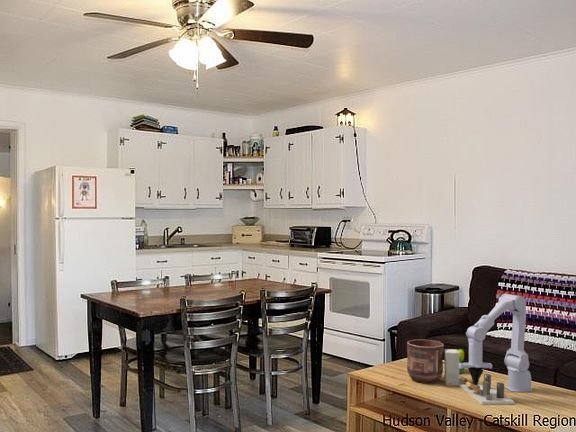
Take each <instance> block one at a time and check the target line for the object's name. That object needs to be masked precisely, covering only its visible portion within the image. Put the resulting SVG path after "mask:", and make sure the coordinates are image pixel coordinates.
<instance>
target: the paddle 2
mask: <svg viewBox="0 0 576 432" xmlns="http://www.w3.org/2000/svg"><path fill="white" fill-rule="evenodd" d="M482 384H483V396H485V397H486V395H490V383H489V382H487V381H484V380H482Z"/></svg>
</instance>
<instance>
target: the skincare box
mask: <svg viewBox="0 0 576 432" xmlns="http://www.w3.org/2000/svg"><path fill="white" fill-rule="evenodd" d="M458 350H459V349H453V348H451V349H449V348H444V351H443V362H444V363H443V365H444V366H443V367H444V383H445V385H446V386H451V385H453V387H454V386H455V387H460V385H461V384H460V383H461V381H460V380H461V379H460V378H461V377H460V374H461V373H459V352H458Z"/></svg>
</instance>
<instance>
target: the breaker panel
mask: <svg viewBox="0 0 576 432" xmlns="http://www.w3.org/2000/svg"><path fill="white" fill-rule="evenodd" d="M469 381H470V380H469ZM483 381H487V382H489V383H490V395H486V397H485V396H483V383H482V384H479V383H478V385H474V386H476V387H478V388H479V389H480V390H479V392H477V391H476V390H474V389H473V388H471V387H469V386H468V385H467V384H466V383H465V384H460V386H459V387H460V388H461V390H463V389H464V390H463V391H465V392H466V393H467V394H468V395H469V396H471V397H472V398H473V399H474V400H476V401H477V402H478V403H480V404H481V405H482V406H483V405H515V401H514V400H513V399H511V398H510V397H509V396H507V395H506V394H505V383H504V382H496V387H495V386H492V375H491V374H489V373H484V374H483ZM470 382H471V383H472V384H473V381H472V380H471V381H470Z"/></svg>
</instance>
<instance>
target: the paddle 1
mask: <svg viewBox="0 0 576 432" xmlns="http://www.w3.org/2000/svg"><path fill="white" fill-rule="evenodd" d="M460 380H461V381H463V382H464V383H465V384H466V383H467V381H468V382H470V380H468V379H467V378H465V377H464V376H463V375H462V376H461V377H460ZM470 383H471V382H470ZM471 384H472V383H471ZM473 385H474V384H473Z"/></svg>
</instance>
